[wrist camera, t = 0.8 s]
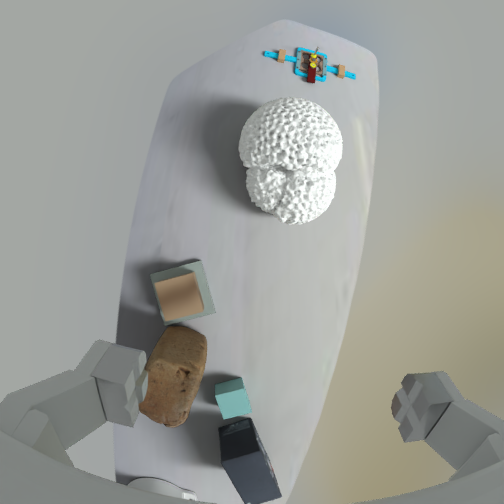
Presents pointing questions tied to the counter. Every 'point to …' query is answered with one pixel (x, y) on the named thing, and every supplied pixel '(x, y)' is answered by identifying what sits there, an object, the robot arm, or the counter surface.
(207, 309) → the square tile
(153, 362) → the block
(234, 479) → the small box
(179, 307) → the walnut base block
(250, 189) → the white coral
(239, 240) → the counter surface
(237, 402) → the teal cube
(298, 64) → the gear mechanism
